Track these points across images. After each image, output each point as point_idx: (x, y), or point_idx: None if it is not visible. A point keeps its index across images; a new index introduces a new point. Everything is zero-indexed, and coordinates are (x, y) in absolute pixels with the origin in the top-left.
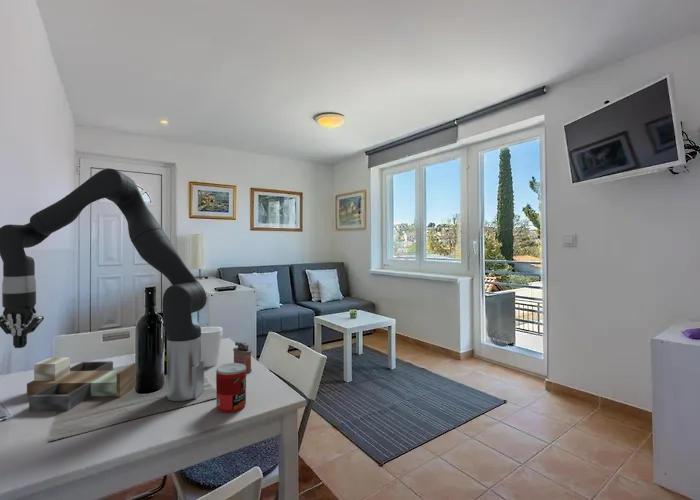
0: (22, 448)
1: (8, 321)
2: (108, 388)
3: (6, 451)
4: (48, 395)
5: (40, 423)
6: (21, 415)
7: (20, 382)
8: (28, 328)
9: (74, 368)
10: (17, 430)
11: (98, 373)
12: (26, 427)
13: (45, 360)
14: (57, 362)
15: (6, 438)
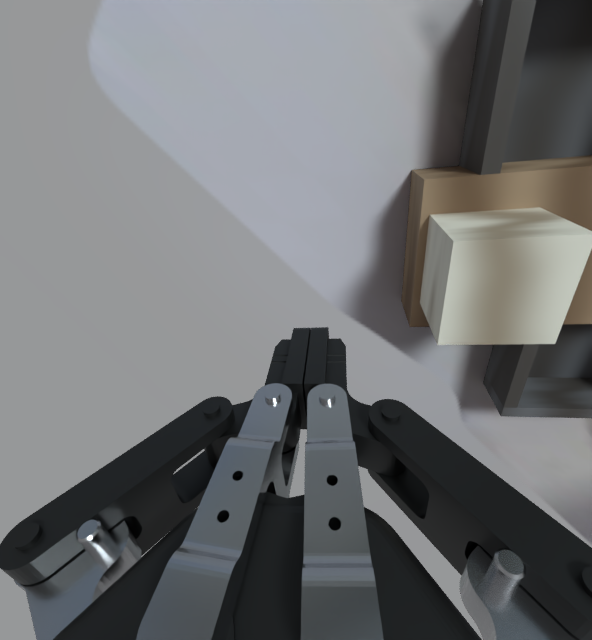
0: (573, 498)
1: (125, 506)
2: None
3: (546, 501)
4: (564, 413)
5: (556, 432)
6: (476, 399)
7: (245, 162)
8: (422, 502)
9: (512, 98)
10: (517, 452)
11: None
12: (531, 444)
13: (460, 292)
14: (556, 322)
15: (515, 472)
